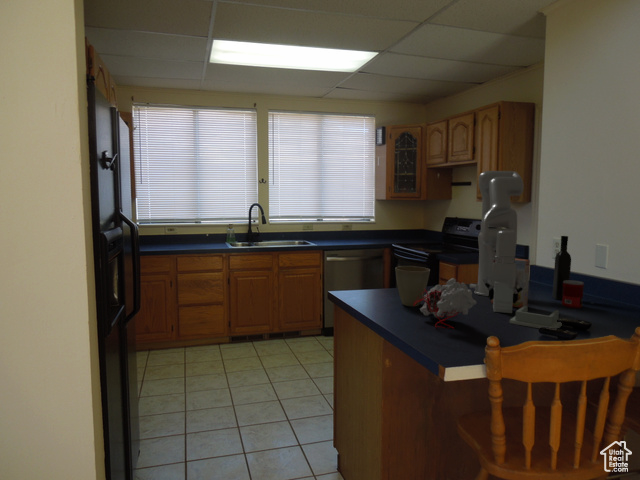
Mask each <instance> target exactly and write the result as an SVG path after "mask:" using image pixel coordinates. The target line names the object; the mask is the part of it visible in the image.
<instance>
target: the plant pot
mask: <svg viewBox="0 0 640 480" xmlns="http://www.w3.org/2000/svg"><path fill="white" fill-rule="evenodd" d="M394 271H395V279H396V285H397V289H398V294H399V298H400V301H401V304H402V305H404V306H407V307H419V306H420V305H421V302H422V301H419V302H417V301H418V300H420V299H422V298H424V295H425V292H426V291H425V290H424V289H426V290H427V285H428V282H429V278H430V275H431V273H430V272H431V269H430V268H428V267H427V268H426V267H422V266H415V265H414V266H413V265H401V266H400V265H399V266H396V267H395V269H394ZM424 291H425V292H424ZM422 292H423V293H422ZM421 293H422V294H421ZM418 296H419V297H418ZM417 298H418V299H417ZM416 300H417V301H416ZM415 301H416V302H417V303H416V302H415ZM414 302H415V303H416V304H415V306H413V304H414Z"/></svg>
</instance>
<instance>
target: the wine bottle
mask: <svg viewBox="0 0 640 480" xmlns="http://www.w3.org/2000/svg"><path fill="white" fill-rule="evenodd" d="M568 242H569V236H568V235H560V249H559V250H560V251H558V252H557V253H556V254H555V256H554V267H553V268H554V269H553V283H552V284H553V285H552V298H553V299H555V300H558V301H562V291H563V281H565V280H571V268H572V256H571V254H570V253H569V252H568Z"/></svg>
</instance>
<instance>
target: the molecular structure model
mask: <svg viewBox="0 0 640 480" xmlns="http://www.w3.org/2000/svg"><path fill="white" fill-rule="evenodd" d="M424 290H425V291H424V293H426V294H424V295H423V298H422V299H420V300H418V301H417V300H416V301H417V302H419V301H421V302H422V301H424V304H423V305H422V307H420V308H419V310H420V312H421V313H423V315H424V316H429V315H431V314H432V315H433V316H434V318H436V319H437V320H439V321H437V322H436V323H435V324H434V326H435V329H437V328H443V329H445V328H446V327H444V326H441V325H440V326H439V325H437V324H443V325H445V326H447V327H448V329H453V330H455V327H453V326H452V325H450V324H446V323H445V321H447V320H448V319H451V318H454V317H456V316H458V315H459V313H461V314H463V315H464V316H465V315H468V314H469V310H470V309H471V308H473V306H475V305H477V301H476V300H475V299H474V298H473V292H472V291H473V290H472V289H469V287H468V286H467V285H466V283H465V282H461V283H460V282H458V281H457V279H456V278H454V277H452V278H450V279H449V280H447V281H446V284H443V285H442V284H435V286H434V287H432V288H430V289H429V290H427V288H426V289H424ZM422 293H423V292H422ZM422 293H421V294H422ZM418 297H419V296H418ZM417 299H418V298H417ZM416 301H415V302H416ZM415 302H414V304H413V306H412V307H416V306H415V304H416V303H417V302H416V303H415ZM445 316H446V317H445ZM444 317H445V318H444ZM442 318H443V319H442Z"/></svg>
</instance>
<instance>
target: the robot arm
mask: <svg viewBox="0 0 640 480" xmlns="http://www.w3.org/2000/svg"><path fill="white" fill-rule="evenodd" d="M478 187H479V191H480V194H481V199H482V200H481V201H482V202H481V203H482V205H481V223H480V232H479V234H478V237H477V240H478V242H477V243H478V252H479V253H478V254H479V255H478V271H477V272H478V273H477V275H478V276H477V283H469V288H470V289H474V291H473V293H474V294H475V295H478V296H483V297H488V298H489V301H491V300H492V299H493V298H494V289H493V288H494V283H495V282H504V283H508V284H509V288H511V289H512V288H513V291H514V294H513V303H516V301H518V293H519V292H520V291H522V290H523V288H524V287H525V286H526V284H525V283H524V282H522V281H521V280H519V279H518V275H517V265H516V264H515V258H516V252H517V251H516V249H517V241H518V214H517V212H516V209H514V208H512V207H511V204H512V203H511V196H512V197H513V196H521V195H522V194H523V192H524V187H525V186H524V181H523V178H522V177H521V175H520V174H519V173H518V172H517V171H513V170H486V171H482V172H481V173H480V174H479V175H478ZM493 259H494V260H495V262H494V263H493ZM517 283H519V284H520V285H521V287H520V288H519V289H518V288H517V287H516V286H517Z"/></svg>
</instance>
